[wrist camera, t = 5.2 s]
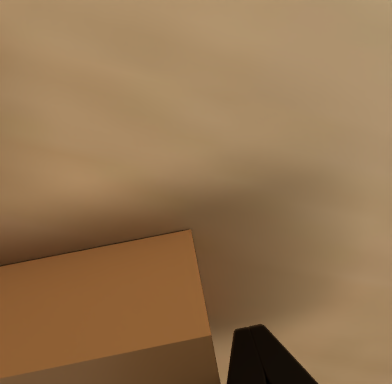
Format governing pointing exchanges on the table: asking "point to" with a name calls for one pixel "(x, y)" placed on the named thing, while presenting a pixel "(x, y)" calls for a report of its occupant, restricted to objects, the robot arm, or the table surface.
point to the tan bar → (108, 316)
